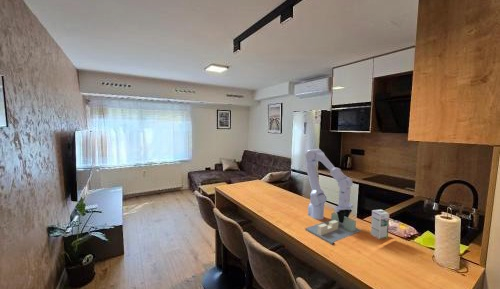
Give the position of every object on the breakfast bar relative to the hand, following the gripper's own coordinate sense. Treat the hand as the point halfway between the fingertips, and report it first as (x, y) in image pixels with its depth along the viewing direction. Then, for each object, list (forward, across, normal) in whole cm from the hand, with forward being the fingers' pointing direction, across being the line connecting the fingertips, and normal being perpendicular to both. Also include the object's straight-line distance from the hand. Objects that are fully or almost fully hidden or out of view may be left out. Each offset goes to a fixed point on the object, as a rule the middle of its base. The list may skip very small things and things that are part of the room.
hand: (343, 221), depth 131 cm
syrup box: (+4, +7, -17) cm, 19 cm away
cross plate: (+3, 0, 0) cm, 3 cm away
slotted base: (+4, -8, 0) cm, 9 cm away
